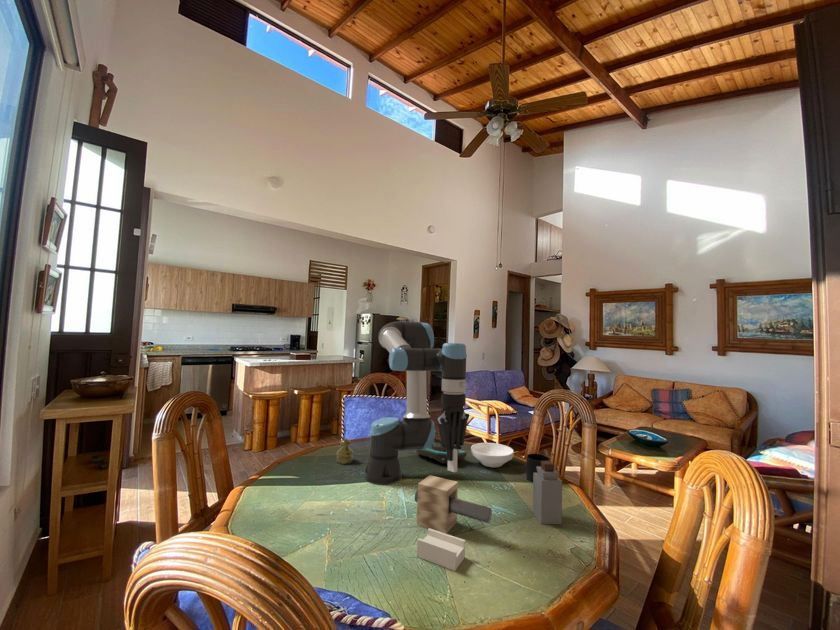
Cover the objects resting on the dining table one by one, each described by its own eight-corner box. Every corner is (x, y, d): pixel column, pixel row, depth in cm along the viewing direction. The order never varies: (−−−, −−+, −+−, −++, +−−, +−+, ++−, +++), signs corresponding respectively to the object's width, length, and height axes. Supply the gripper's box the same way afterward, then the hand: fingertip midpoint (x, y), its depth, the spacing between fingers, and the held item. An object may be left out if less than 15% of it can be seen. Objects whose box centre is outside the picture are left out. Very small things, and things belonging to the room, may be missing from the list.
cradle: (416, 556, 95) (417, 539, 95) (428, 544, 101) (429, 528, 101) (454, 571, 90) (455, 552, 90) (465, 557, 95) (465, 540, 96)
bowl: (488, 475, 152) (488, 458, 153) (462, 460, 170) (462, 445, 170) (522, 468, 161) (523, 452, 162) (494, 455, 179) (495, 440, 179)
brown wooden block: (416, 524, 111) (417, 483, 112) (428, 513, 118) (429, 475, 119) (445, 534, 106) (447, 491, 107) (456, 522, 113) (457, 482, 114)
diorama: (449, 469, 157) (452, 424, 159) (406, 456, 173) (410, 415, 175) (471, 462, 171) (474, 421, 174) (430, 451, 187) (433, 413, 190)
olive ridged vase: (333, 462, 162) (334, 440, 162) (342, 457, 168) (343, 436, 169) (346, 465, 159) (347, 442, 159) (355, 460, 166) (356, 438, 166)
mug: (547, 488, 141) (548, 464, 142) (521, 478, 151) (522, 456, 151) (560, 482, 148) (560, 459, 148) (534, 473, 157) (534, 452, 157)
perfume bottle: (532, 513, 120) (533, 459, 121) (552, 513, 121) (552, 459, 122) (541, 524, 114) (541, 466, 115) (561, 523, 114) (562, 466, 115)
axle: (414, 504, 114) (414, 492, 114) (420, 498, 118) (420, 486, 117) (487, 526, 103) (487, 512, 102) (491, 518, 106) (491, 505, 106)
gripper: (447, 395, 104) (446, 479, 103) (476, 392, 113) (475, 469, 111) (430, 392, 110) (428, 471, 108) (458, 389, 119) (457, 463, 117)
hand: (452, 470), depth 110 cm, fingers closed
